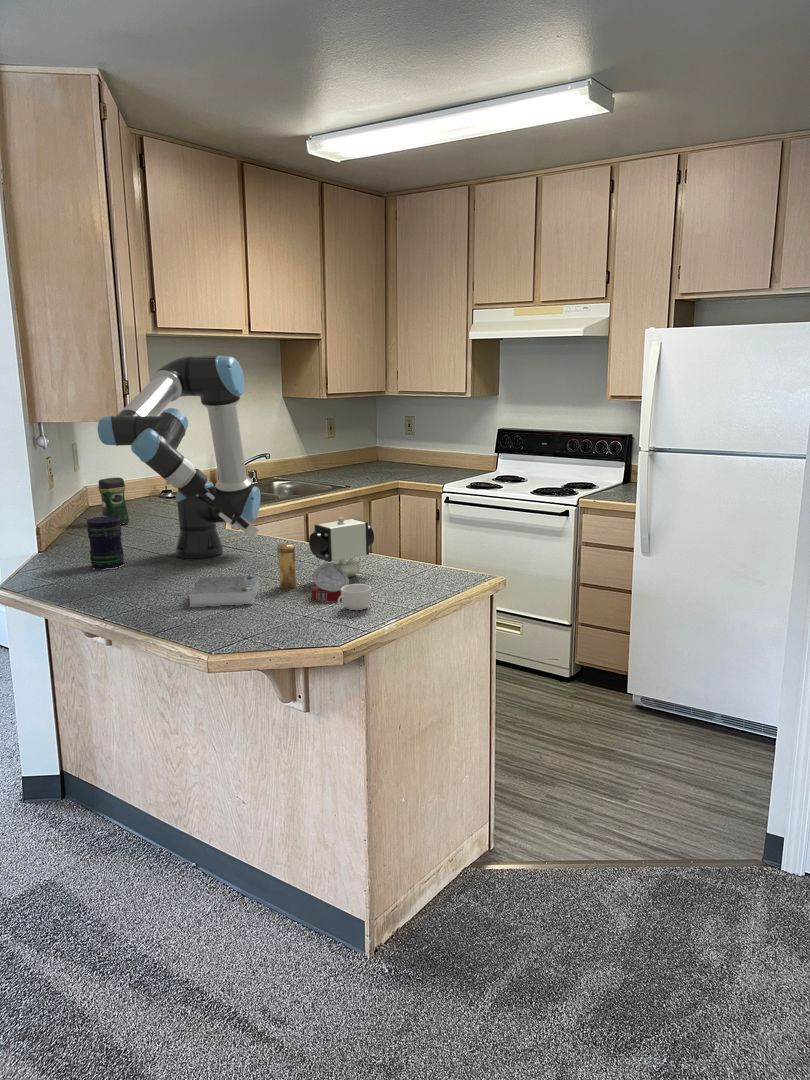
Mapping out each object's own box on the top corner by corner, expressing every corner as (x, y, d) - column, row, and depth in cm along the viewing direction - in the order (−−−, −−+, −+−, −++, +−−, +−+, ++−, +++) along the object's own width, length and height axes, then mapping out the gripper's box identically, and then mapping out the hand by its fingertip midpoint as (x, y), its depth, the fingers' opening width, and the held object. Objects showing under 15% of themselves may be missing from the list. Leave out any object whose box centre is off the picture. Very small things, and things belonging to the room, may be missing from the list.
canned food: (345, 609, 218) (362, 577, 216) (334, 616, 209) (351, 584, 207) (310, 588, 220) (326, 557, 218) (297, 594, 210) (314, 562, 208)
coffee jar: (123, 521, 320) (118, 475, 316) (131, 524, 314) (127, 477, 310) (99, 525, 314) (94, 478, 310) (107, 528, 308) (102, 480, 304)
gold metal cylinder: (280, 584, 226) (278, 543, 223) (297, 584, 226) (295, 542, 223) (279, 589, 221) (276, 547, 219) (296, 588, 222) (293, 546, 219)
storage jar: (84, 568, 248) (79, 521, 245) (109, 561, 256) (104, 515, 253) (107, 571, 243) (102, 523, 240) (131, 564, 252) (127, 517, 249)
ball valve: (359, 569, 241) (357, 511, 237) (375, 574, 234) (374, 515, 230) (307, 579, 231) (304, 519, 227) (323, 585, 224) (320, 523, 220)
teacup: (357, 602, 209) (357, 582, 207) (378, 607, 203) (377, 587, 202) (328, 610, 202) (327, 590, 200) (348, 617, 196) (348, 596, 195)
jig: (201, 589, 222) (200, 575, 221) (259, 587, 223) (258, 573, 222) (190, 607, 206) (189, 592, 206) (252, 604, 208) (252, 589, 207)
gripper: (165, 484, 214) (224, 533, 224) (189, 495, 193) (253, 549, 203) (184, 463, 215) (241, 512, 226) (209, 472, 194) (271, 526, 204)
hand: (246, 530), depth 214 cm, fingers open, 13 cm apart
